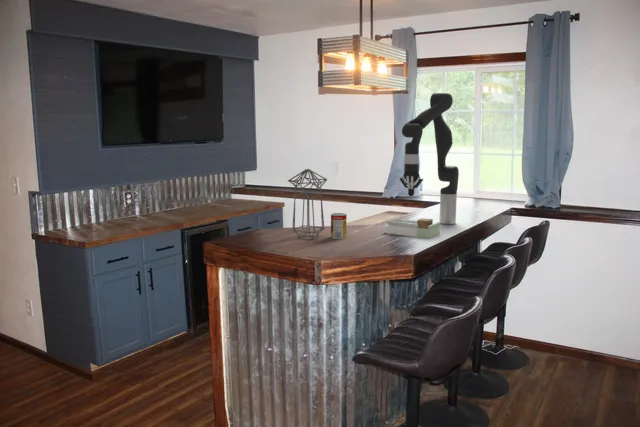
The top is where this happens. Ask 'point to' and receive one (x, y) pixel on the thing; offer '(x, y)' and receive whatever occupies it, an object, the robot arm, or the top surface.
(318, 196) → the geometric lantern
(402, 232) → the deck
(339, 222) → the canned food
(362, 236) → the top surface
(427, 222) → the walnut block
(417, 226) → the channel rails
